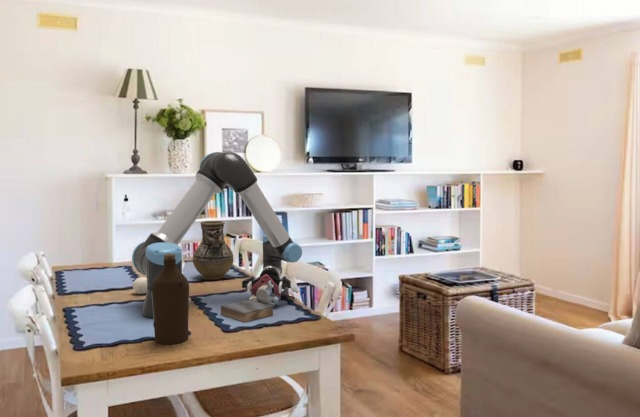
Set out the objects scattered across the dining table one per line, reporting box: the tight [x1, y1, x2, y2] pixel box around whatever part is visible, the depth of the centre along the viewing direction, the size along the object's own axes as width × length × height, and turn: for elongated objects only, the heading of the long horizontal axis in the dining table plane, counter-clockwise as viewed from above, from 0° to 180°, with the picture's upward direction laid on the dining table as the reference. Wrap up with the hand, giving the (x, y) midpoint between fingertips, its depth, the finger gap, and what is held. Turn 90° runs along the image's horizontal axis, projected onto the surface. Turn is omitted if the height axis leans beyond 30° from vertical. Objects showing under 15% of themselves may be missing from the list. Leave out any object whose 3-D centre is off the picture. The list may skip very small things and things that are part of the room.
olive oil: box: [151, 254, 190, 345], centre depth 168 cm, size 11×11×25 cm
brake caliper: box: [248, 274, 282, 308], centre depth 207 cm, size 11×11×12 cm
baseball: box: [132, 276, 147, 295], centre depth 227 cm, size 7×7×7 cm
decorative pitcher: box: [192, 220, 234, 281], centre depth 257 cm, size 22×18×25 cm
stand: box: [220, 299, 274, 323], centre depth 196 cm, size 12×13×3 cm
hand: (264, 289), depth 204 cm, fingers closed on brake caliper, 10 cm apart
